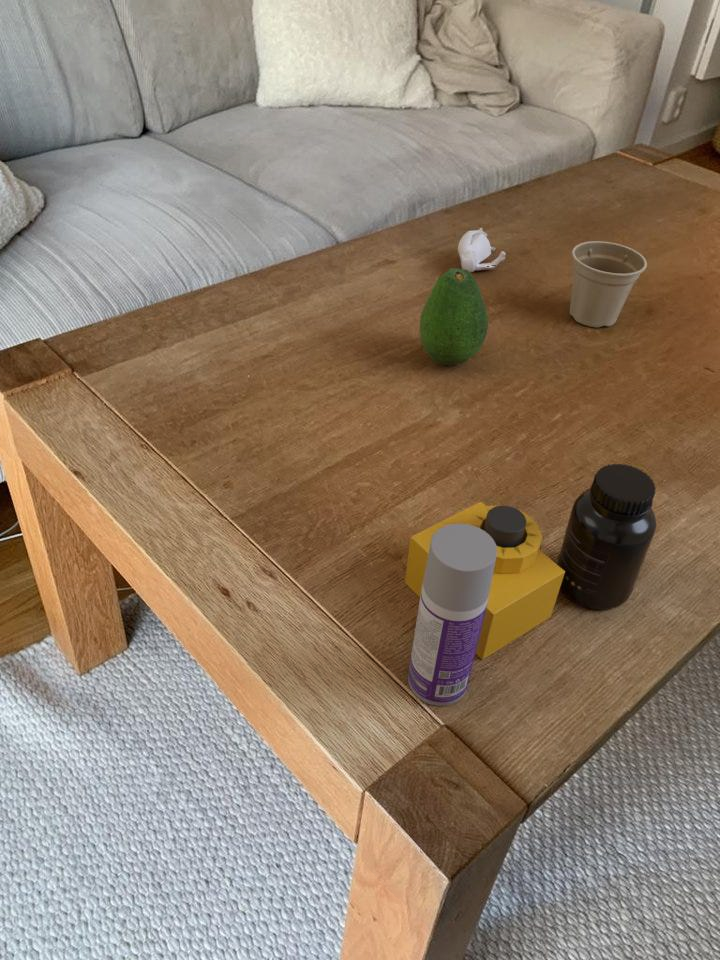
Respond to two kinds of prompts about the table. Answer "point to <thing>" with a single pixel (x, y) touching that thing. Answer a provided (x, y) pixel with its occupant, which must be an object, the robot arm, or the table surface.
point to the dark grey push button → (505, 526)
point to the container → (451, 612)
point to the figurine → (476, 251)
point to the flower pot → (602, 281)
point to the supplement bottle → (608, 537)
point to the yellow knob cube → (500, 580)
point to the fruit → (454, 319)
